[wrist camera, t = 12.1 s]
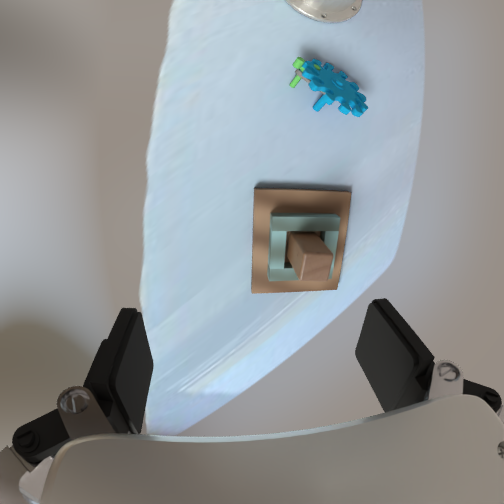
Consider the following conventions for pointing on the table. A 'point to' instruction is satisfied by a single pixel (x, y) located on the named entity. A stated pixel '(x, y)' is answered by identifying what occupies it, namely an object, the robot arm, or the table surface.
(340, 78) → the gear
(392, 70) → the table surface
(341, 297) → the table surface
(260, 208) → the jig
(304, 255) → the wooden block
